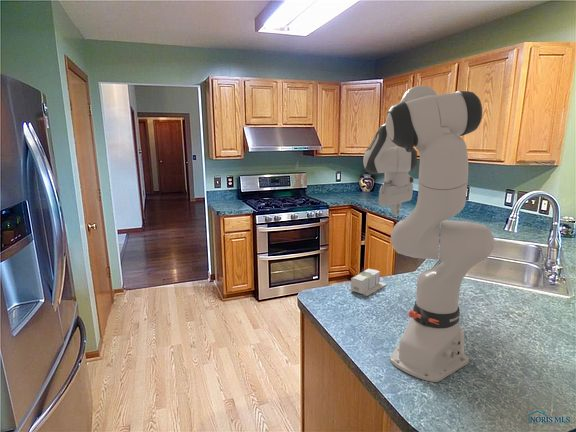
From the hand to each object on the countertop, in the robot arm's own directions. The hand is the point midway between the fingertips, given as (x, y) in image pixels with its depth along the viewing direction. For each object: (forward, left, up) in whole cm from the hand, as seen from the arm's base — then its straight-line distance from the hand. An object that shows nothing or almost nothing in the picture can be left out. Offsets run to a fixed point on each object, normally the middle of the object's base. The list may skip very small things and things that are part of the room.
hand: (395, 214), depth 135 cm
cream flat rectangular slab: (-4, +10, -32) cm, 34 cm away
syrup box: (-12, +10, -29) cm, 33 cm away
